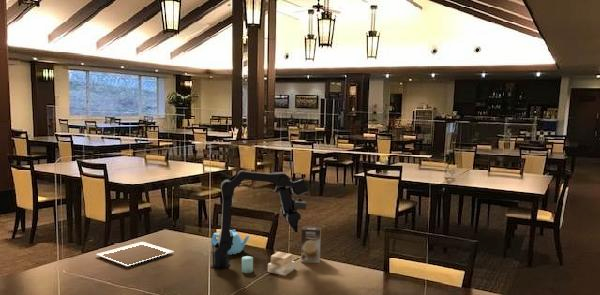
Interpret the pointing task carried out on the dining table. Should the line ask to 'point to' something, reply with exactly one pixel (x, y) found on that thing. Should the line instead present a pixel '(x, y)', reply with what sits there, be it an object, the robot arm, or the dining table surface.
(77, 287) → the dining table surface
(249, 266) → the teal cylinder
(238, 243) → the teapot
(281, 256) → the oak top block
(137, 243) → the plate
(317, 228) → the coffee box
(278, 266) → the birch base block
